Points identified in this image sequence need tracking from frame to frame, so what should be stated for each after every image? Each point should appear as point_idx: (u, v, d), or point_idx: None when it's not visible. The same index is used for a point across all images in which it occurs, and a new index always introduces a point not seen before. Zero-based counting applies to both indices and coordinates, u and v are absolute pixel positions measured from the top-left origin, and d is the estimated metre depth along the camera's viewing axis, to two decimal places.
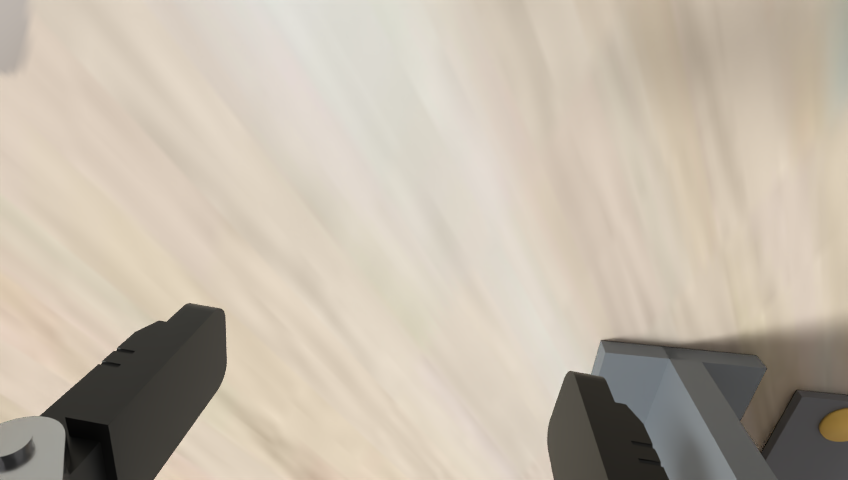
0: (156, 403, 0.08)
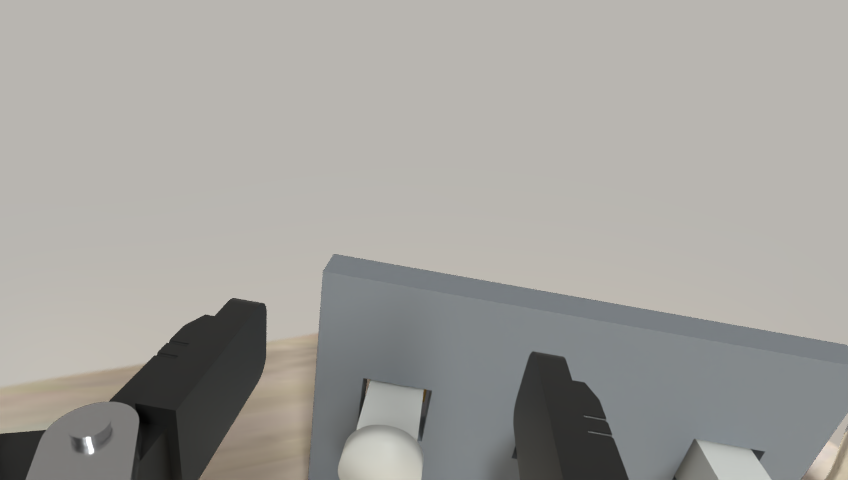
0: (211, 392, 0.09)
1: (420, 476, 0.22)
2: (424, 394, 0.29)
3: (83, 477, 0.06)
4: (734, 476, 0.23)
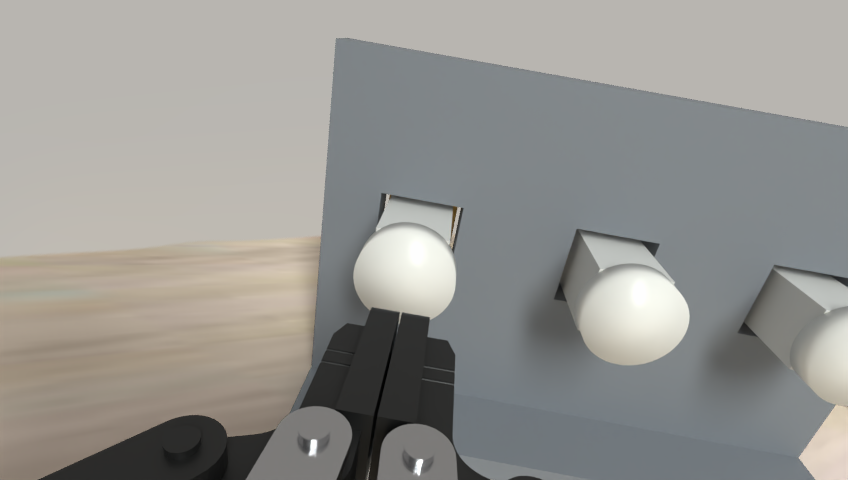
0: (380, 397, 0.09)
1: (454, 280, 0.18)
2: None
3: (328, 478, 0.07)
4: (828, 297, 0.19)
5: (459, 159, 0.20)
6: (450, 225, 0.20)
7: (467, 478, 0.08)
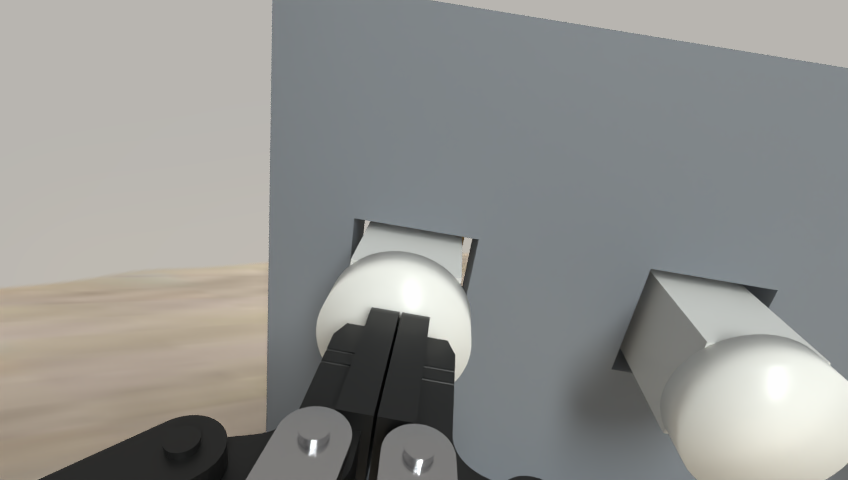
0: (380, 397, 0.09)
1: (469, 340, 0.12)
2: None
3: (328, 478, 0.07)
4: None
5: (472, 166, 0.13)
6: (460, 252, 0.14)
7: (467, 478, 0.08)
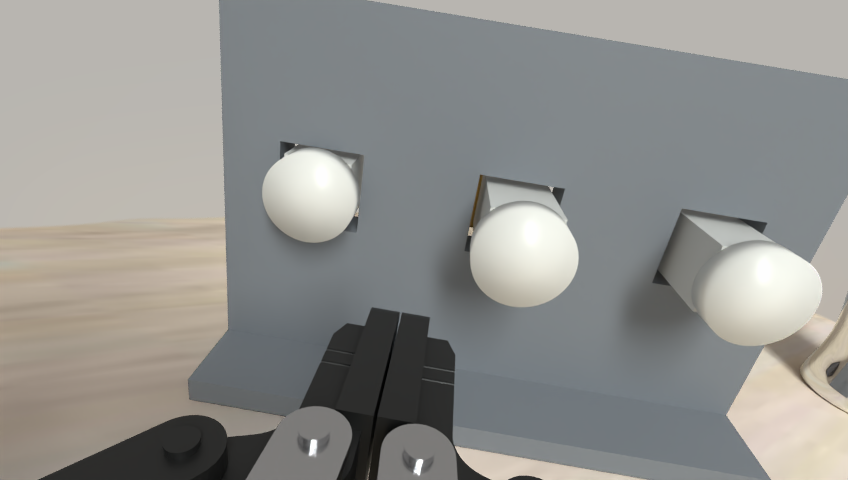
0: (380, 397, 0.09)
1: (353, 198, 0.20)
2: None
3: (328, 478, 0.07)
4: (731, 237, 0.19)
5: (355, 103, 0.20)
6: (358, 156, 0.22)
7: (467, 478, 0.08)
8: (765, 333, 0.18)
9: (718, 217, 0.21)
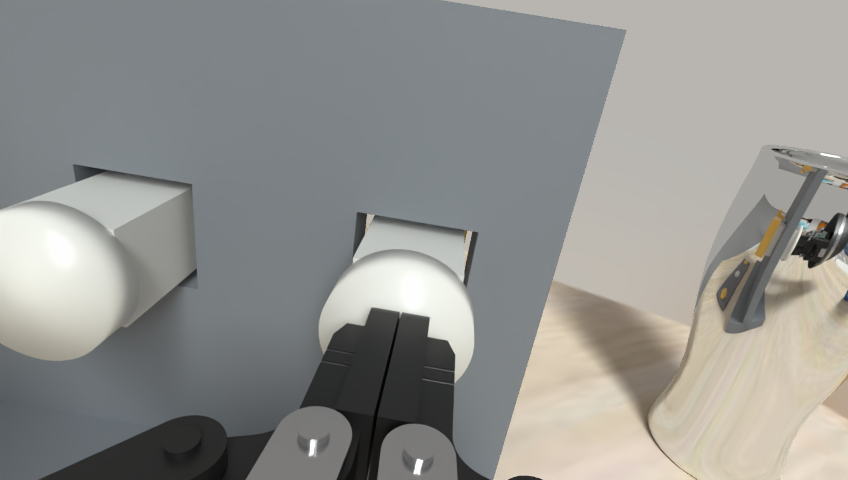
0: (380, 397, 0.09)
1: None
2: None
3: (328, 478, 0.07)
4: (396, 244, 0.13)
5: None
6: None
7: (467, 478, 0.08)
8: None
9: None
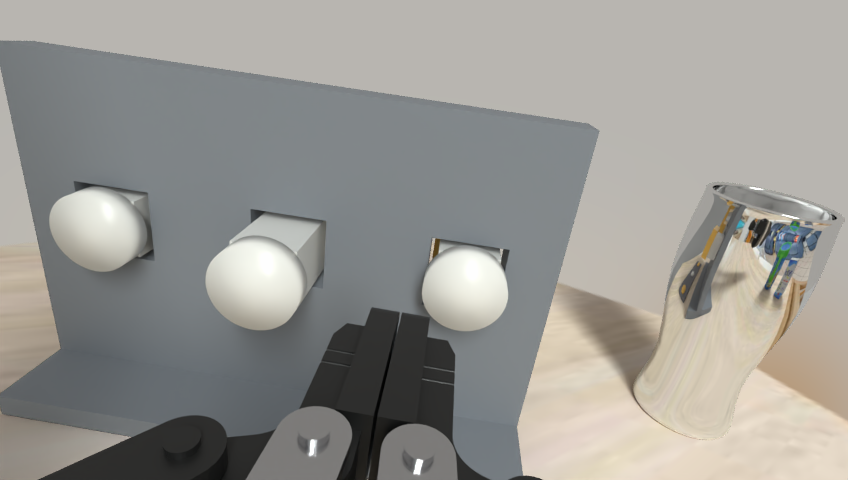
0: (380, 397, 0.09)
1: (128, 232, 0.22)
2: None
3: (328, 478, 0.07)
4: (460, 243, 0.23)
5: (130, 147, 0.22)
6: None
7: (467, 478, 0.08)
8: (474, 320, 0.22)
9: None
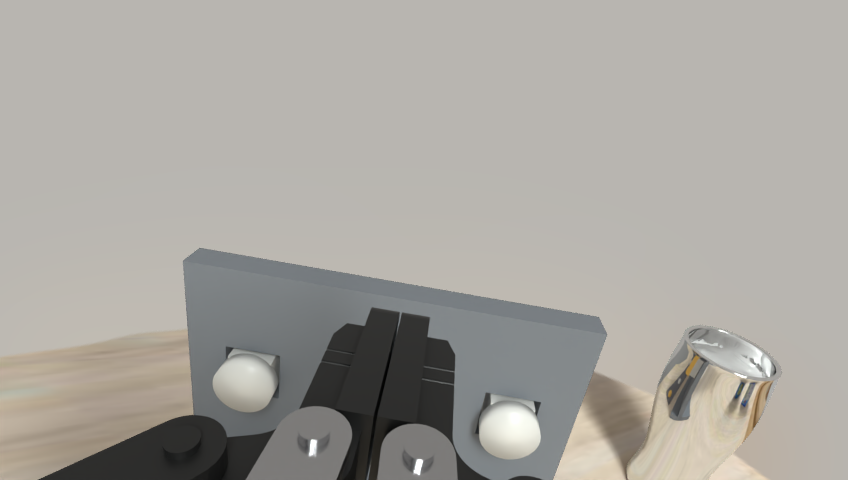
0: (380, 397, 0.09)
1: (270, 389, 0.31)
2: None
3: (328, 478, 0.07)
4: None
5: (271, 328, 0.31)
6: None
7: (467, 478, 0.08)
8: (515, 453, 0.31)
9: None
